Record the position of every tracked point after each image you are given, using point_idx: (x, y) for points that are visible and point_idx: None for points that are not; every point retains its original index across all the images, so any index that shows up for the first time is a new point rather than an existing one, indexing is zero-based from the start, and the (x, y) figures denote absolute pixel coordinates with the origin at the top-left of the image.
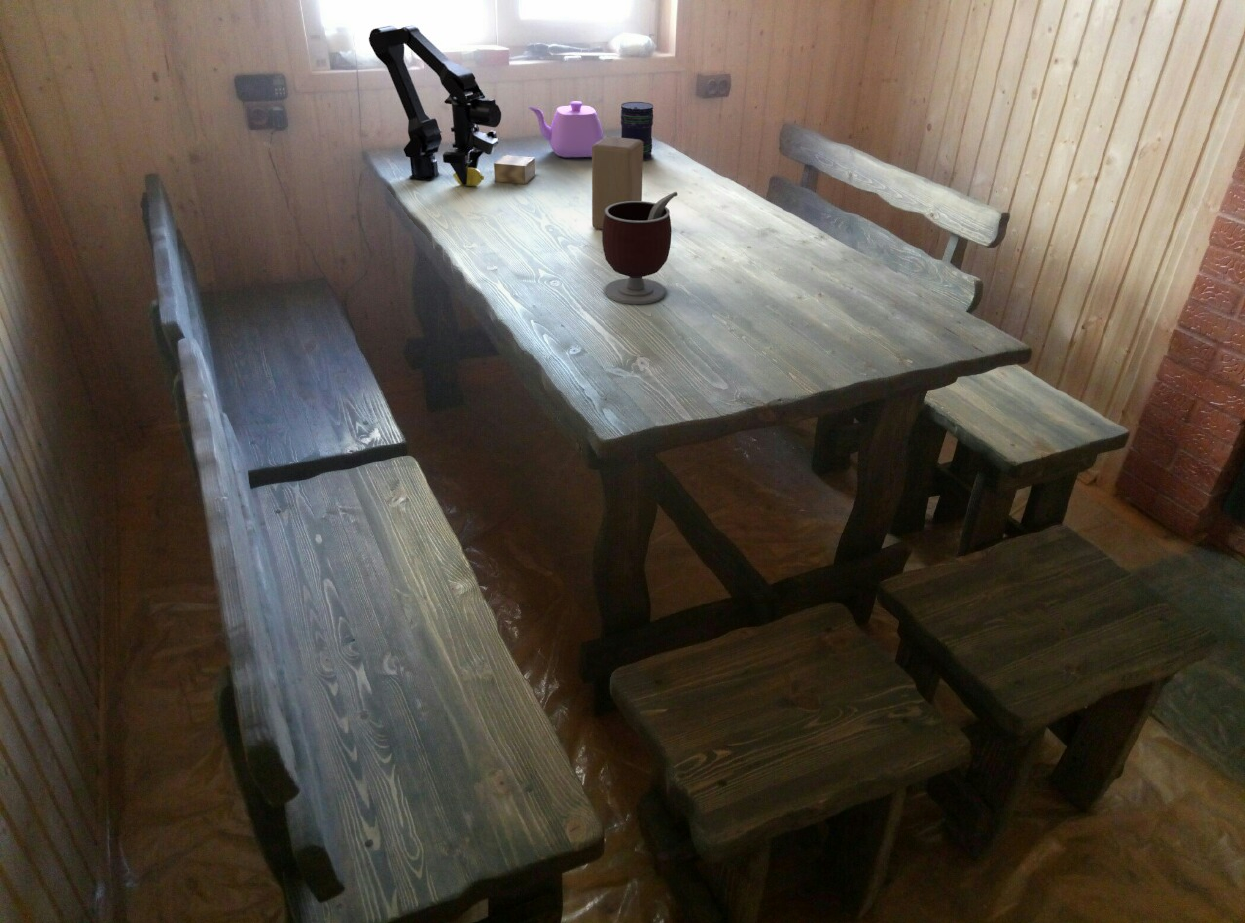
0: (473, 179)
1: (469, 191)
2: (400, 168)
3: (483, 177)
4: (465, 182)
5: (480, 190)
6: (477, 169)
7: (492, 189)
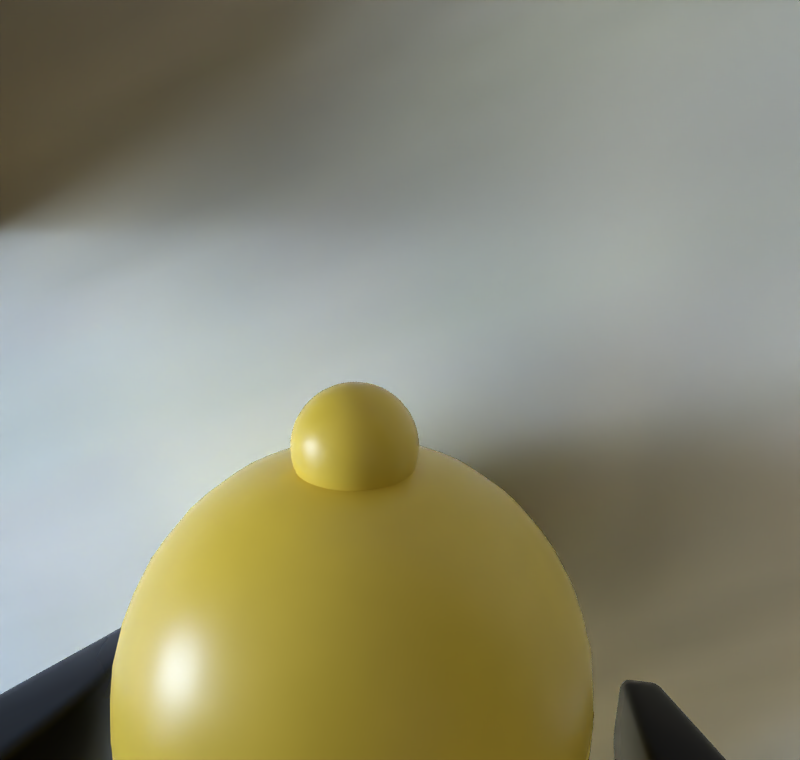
0: (580, 615)
1: (784, 532)
2: None
3: (367, 400)
4: (690, 734)
5: (674, 332)
6: (235, 718)
7: (541, 75)
